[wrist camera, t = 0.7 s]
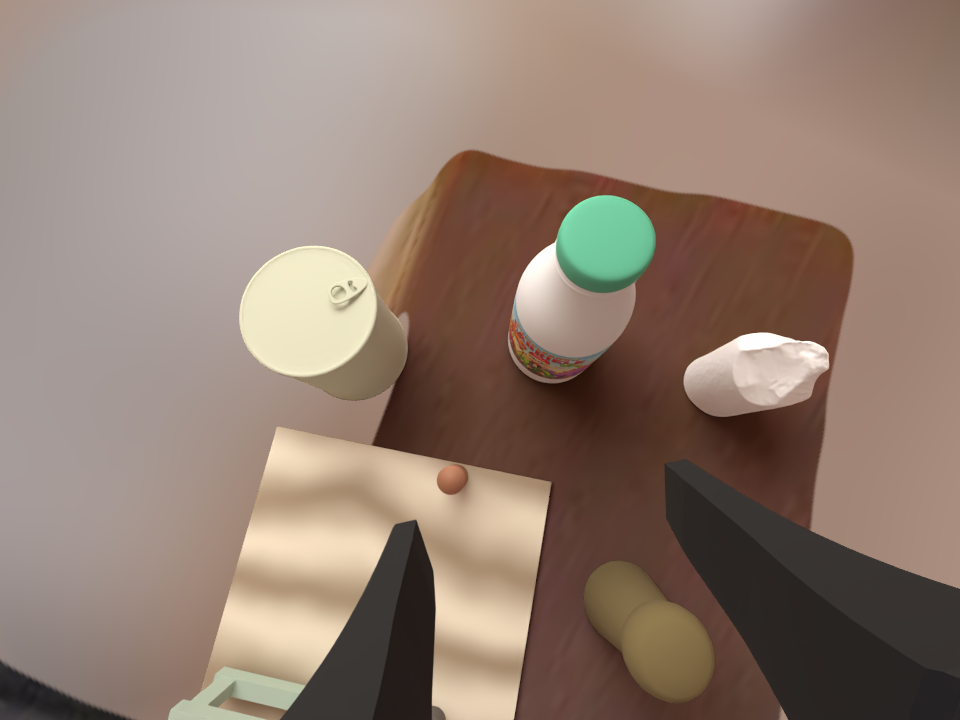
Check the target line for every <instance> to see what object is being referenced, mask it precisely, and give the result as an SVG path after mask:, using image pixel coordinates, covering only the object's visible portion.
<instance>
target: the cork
mask: <svg viewBox="0 0 960 720" xmlns="http://www.w3.org/2000/svg"><path fill="white" fill-rule="evenodd" d="M583 600H584V608H585V612H586V614H587V617H588V619H589V621H590V623H591V624H592V626H593V627H594V628H595V629H596V630H597V632H598V633H599V634H601V635H602V636H603V637H604V638H605V639H606V640H608V641H609V642H610V643H611V644H612V645H613V646H615V647H616V648H617V649H618V650H619V651H620V652H622V653H623V659H624V661H625V663H626V665H627V668H628V670H629V672H630V674H631V676H632V677H633V678H634V680H635V681H636V682H637V683H638V684H639V686H640V687H641V688H642V689H643V690H645V691H646V692H648V693H649V694H651V695H652V696H654V697H655V698H657V699H659V700H662V701H665V702H669V703H684V702H688V701H690V700H692V699H694V698H696V697H698V696H699V695H700V694H701V693H702V692H703V691H704V690H705V689H706V688H707V687H708V685H709V682H710V680H711V678H712V676H713V672H714V663H715V656H714V650H713V645H712V642H711V640H710V638H709V636H708V634H707V632H706V630H705V628H704V626H703V625H702V624H701V623H700V622H699V620H698V619H697V618H696V617H695V616H694V615H693V614H692V613H690V612H689V611H687V610H686V609H684V608H683V607H681V606H679V605H678V604H675V603H671V602H668V600H667V599H666V598H665V596H664V595H663V594H662V592H661V591H660V590H659V588H658V587H657V586H656V584H655V583H654V582H653V580H652V579H651V578H650V577H649V576H648V575H647V573H646V572H645V571H644V570H643V569H641V568H640V567H638V566H636V565H635V564H633V563H629V562H625V561H611V562H608V563H606V564H603V565H601V566H599V567H598V568H597V569H596V570H595V571H594V572H593V573H592V574H591V575H590V577H589V579H588V581H587V583H586V585H585V591H584V596H583Z"/></svg>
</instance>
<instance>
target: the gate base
mask: <svg viewBox="0 0 960 720" xmlns="http://www.w3.org/2000/svg"><path fill="white" fill-rule="evenodd" d="M550 488H551V482H549V481H544V480H539V479H534V478H529V477H524V476H519V475H514V474H509V473H504V472H500V471H495V470H490V469H485V468H480V467H475V466H470V465H465V464H460V463H455V462H450V461H445V460H440V459H436V458H431V457H426V456H421V455H416V454H411V453H406V452H401V451H396V450H391V449H386V448H381V447H376V446H372V445H366V444H362V443H357V442H352V441H347V440H342V439H337V438H332V437H327V436H322V435H317V434H313V433H308V432H303V431H298V430H292V429H288V428H283V427H277V429H276V433H275V436H274V439H273V443H272V446H271V450H270V453H269V457H268V460H267V464H266V467H265V471H264V474H263V478H262V481H261V485H260V488H259V491H258V495H257V499H256V502H255V506H254V509H253V512H252V516H251V519H250V523H249V526H248V530H247V533H246V536H245V540H244V544H243V547H242V551H241V554H240V558H239V561H238V564H237V568H236V571H235V575H234V578H233V582H232V585H231V588H230V592H229V595H228V599H227V602H226V606H225V609H224V613H223V616H222V620H221V623H220V627H219V630H218V633H217V637H216V640H215V644H214V647H213V651H212V654H211V658H210V661H209V665H208V669H207V672H206V675H205V678H204V682H203V685H202V689H201V692H202V691H203V690H204V689H205V688H207V687H208V686H209V685H210V684H212V683H213V680H214V677H215V674H216V673H217V672H218V671H219V670H221V669H222V668H223V667H229V668H233V669H238V670H242V671H246V672H250V673H255V674H259V675H263V676H267V677H272V678H276V679H280V680H284V681H289V682H293V683H297V684H301V685H305V686H306V684H307V683H308V682H309V680H310V679H311V677H312V676H313V675H314V673H315V672H316V670H317V669H318V667H319V666H320V665H321V663H322V662H323V660H324V659H325V657H326V655H327V654H328V652H329V651H330V649H331V648H332V646H333V645H334V643H335V641H336V640H337V638H338V637H339V635H340V633H341V632H342V630H343V628H344V626H345V625H346V623H347V621H348V619H349V618H350V616H351V614H352V612H353V610H354V609H355V607H356V605H357V603H358V601H359V599H360V598H361V596H362V594H363V592H364V590H365V588H366V586H367V584H368V582H369V580H370V578H371V576H372V574H373V571H374V569H375V567H376V565H377V563H378V561H379V559H380V556H381V554H382V552H383V550H384V547H385V545H386V543H387V540H388V538H389V535H390V533H391V531H392V528H393V527H394V525H395V524H398V523H403V522H407V521H412V520H417V523H418V526H419V529H420V532H421V535H422V538H423V541H424V544H425V547H426V550H427V553H428V556H429V559H430V562H431V565H432V568H433V571H434V585H435V601H436V618H435V642H434V665H433V687H432V720H514V715H515V709H516V703H517V696H518V690H519V684H520V678H521V671H522V665H523V659H524V652H525V646H526V640H527V633H528V627H529V621H530V614H531V608H532V602H533V595H534V589H535V583H536V577H537V570H538V564H539V558H540V551H541V545H542V539H543V532H544V526H545V520H546V513H547V507H548V501H549V495H550ZM201 692H200V693H201ZM218 708H221V709H225V710H229V711H233V712H237V713H242V714H246V715H250V716H254V717H258V718H262V719H266V720H280V719H281V717H282V716H283V715H284V714H285V712H286V711H287V710H284V709H280V708H276V707H272V706H268V705H264V704H259V703H255V702H251V701H247V700H243V699H239V698H234V697H229V698H228V699H227V700H226V701H224V702H223V703H222V704H221V705H220V706H219V707H218Z"/></svg>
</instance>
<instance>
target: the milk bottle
mask: <svg viewBox="0 0 960 720" xmlns="http://www.w3.org/2000/svg"><path fill="white" fill-rule="evenodd" d="M655 245H656V237H655V231H654V228H653V225H652V223H651V221H650V219H649V218H648V216H647V215H646V214H645V213H644V212H643V210H641V209H640V208H639V207H638V206H637V205H635V204H634V203H632V202H630V201H628V200H626V199H623V198H620V197H616V196H606V195H605V196H596V197H592V198H589V199H586V200H584V201H582V202H580V203H579V204H578V205H576V206H575V207H574V208H573V209H572V210H571V211H570V212H569V213H568V214H567V215H566V217H565V219H564V220H563V222H562V224H561V227H560V229H559V232H558V236H557V239H556V242H555V243H554V244H552V245H550V246H548V247H547V248H545V249H544V250H543V251H541V252H540V253H539V254H538V255H537V256H536V257H535V258H534V259H533V260H532V261H531V263H530V264H529V265H528V267H527V268H526V270H525V272H524V273H523V275H522V277H521V280H520V282H519V285H518V289H517V292H516V296H515V301H514V305H513V310H512V316H511V321H510V327H509V334H508V345H509V350H510V354H511V356H512V359H513V361H514V362H515V364H516V365H517V366H518V368H519V369H520V370H521V371H522V372H523V373H524V374H526V375H527V376H529V377H530V378H532V379H535V380H537V381H540V382H544V383H561V382H565V381H568V380H570V379H572V378H574V377H576V376H577V375H579V374H580V373H582V372H583V371H584V370H585V369H586V368H587V367H589V366H590V365H591V364H592V363H593V362H594V361H595V360H596V359H597V358H599V357H600V356H601V355H602V354H603V353H604V352H605V351H606V350H607V349H608V348H609V347H610V346H611V345H612V344H613V343H614V342H615V341H616V340H617V338H618V337H619V336H620V335H621V334H622V332H623V331H624V329H625V327H626V326H627V324H628V322H629V320H630V318H631V315H632V312H633V308H634V304H635V282H636V281H637V279H638V278H639V277H640V276H641V275H642V274H643V273H644V271H645V270H646V269H647V267H648V266H649V264H650V262H651V260H652V258H653V255H654V251H655Z"/></svg>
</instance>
